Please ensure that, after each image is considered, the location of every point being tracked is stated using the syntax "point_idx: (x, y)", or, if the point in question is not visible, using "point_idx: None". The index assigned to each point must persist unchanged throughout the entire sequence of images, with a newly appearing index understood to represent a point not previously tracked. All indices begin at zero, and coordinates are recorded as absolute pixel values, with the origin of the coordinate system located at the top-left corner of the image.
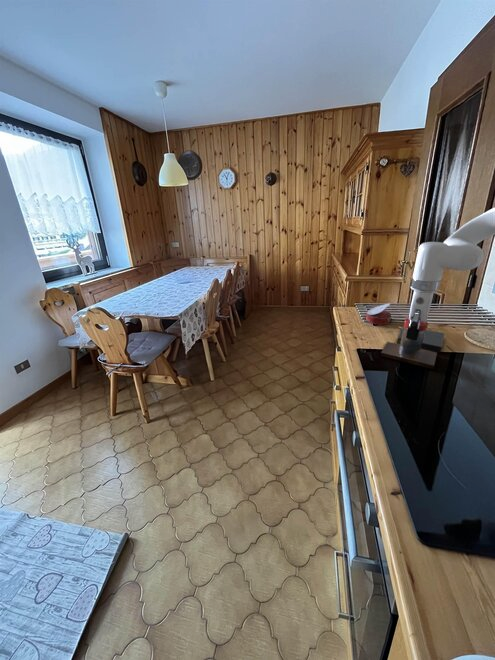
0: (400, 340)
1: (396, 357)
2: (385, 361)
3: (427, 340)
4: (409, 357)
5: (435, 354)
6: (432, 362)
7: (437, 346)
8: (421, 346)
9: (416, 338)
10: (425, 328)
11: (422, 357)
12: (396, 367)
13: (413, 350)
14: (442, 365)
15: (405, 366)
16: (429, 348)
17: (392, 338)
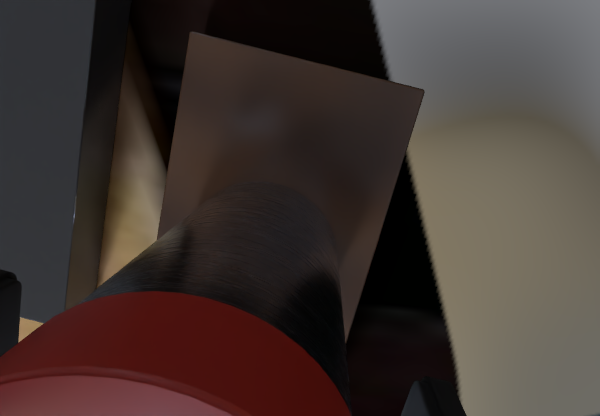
0: (77, 296)
1: (345, 338)
2: (380, 387)
3: (12, 91)
4: (340, 261)
5: (228, 49)
6: (376, 96)
7: (97, 13)
8: (280, 210)
9: (451, 405)
10: (282, 366)
11: (313, 165)
12: (443, 331)
13: (338, 272)
14: (336, 7)
15: (417, 275)
16: (110, 78)
17: (26, 321)
